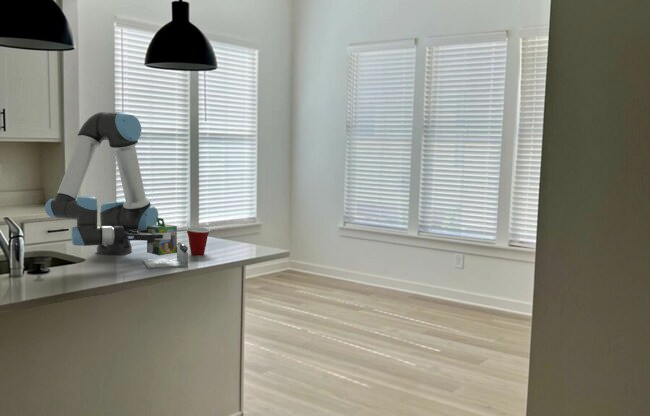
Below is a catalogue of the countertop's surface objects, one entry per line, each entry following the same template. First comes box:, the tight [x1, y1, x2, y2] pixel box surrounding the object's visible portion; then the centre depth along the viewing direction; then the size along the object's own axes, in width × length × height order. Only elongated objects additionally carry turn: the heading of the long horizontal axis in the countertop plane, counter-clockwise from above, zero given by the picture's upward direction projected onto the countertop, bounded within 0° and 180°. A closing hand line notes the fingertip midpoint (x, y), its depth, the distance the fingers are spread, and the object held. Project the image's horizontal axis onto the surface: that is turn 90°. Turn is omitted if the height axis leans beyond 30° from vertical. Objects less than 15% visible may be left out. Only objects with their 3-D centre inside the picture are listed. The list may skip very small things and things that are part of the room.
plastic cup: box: [185, 226, 211, 256], centre depth 280 cm, size 11×11×12 cm
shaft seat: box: [142, 241, 189, 270], centre depth 256 cm, size 16×16×8 cm
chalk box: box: [146, 217, 178, 256], centre depth 255 cm, size 9×9×15 cm
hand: (168, 233), depth 256 cm, fingers closed on chalk box, 11 cm apart
